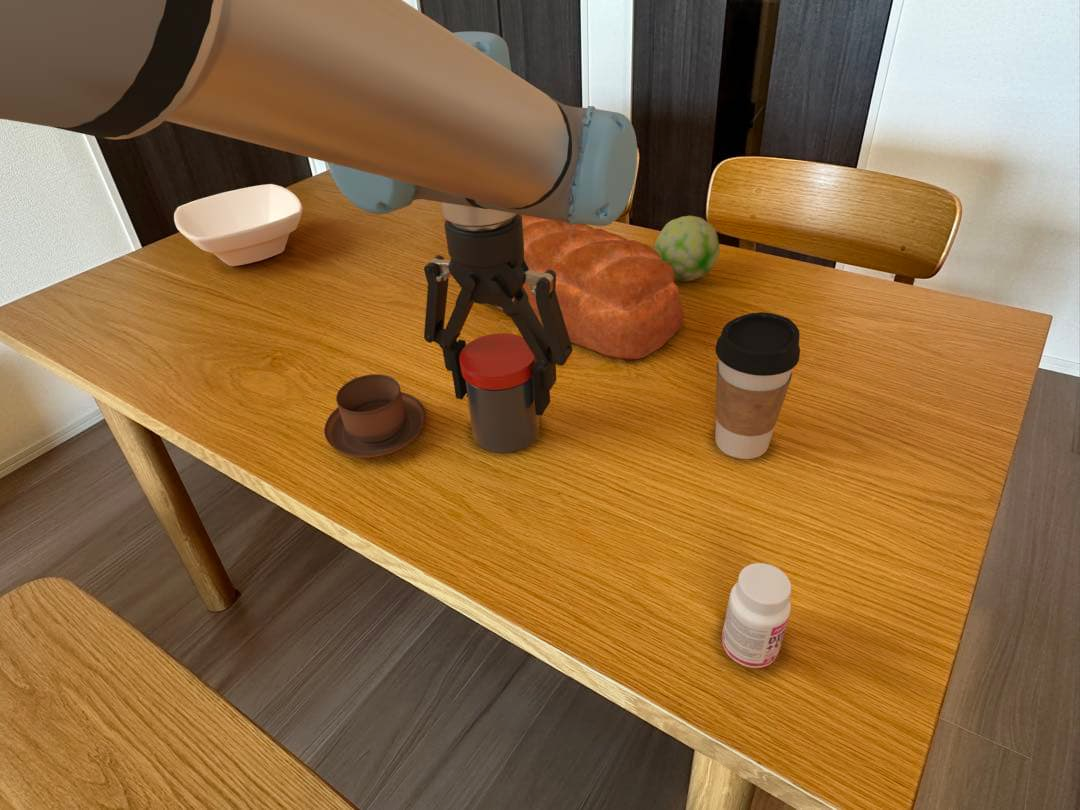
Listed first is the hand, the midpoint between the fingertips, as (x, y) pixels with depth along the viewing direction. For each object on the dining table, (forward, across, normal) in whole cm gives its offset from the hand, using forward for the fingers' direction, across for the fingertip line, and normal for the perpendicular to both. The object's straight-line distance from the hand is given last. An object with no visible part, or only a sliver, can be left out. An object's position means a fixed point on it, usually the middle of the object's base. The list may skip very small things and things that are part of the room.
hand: (502, 399), depth 80 cm
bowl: (+5, +64, -32) cm, 72 cm away
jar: (+5, 0, 0) cm, 5 cm away
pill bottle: (+5, -31, +20) cm, 37 cm away
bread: (+5, +1, -29) cm, 29 cm away
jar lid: (-6, 0, 0) cm, 6 cm away
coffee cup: (+5, -27, -6) cm, 28 cm away
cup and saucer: (+5, +15, +5) cm, 16 cm away
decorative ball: (+5, -12, -44) cm, 45 cm away
